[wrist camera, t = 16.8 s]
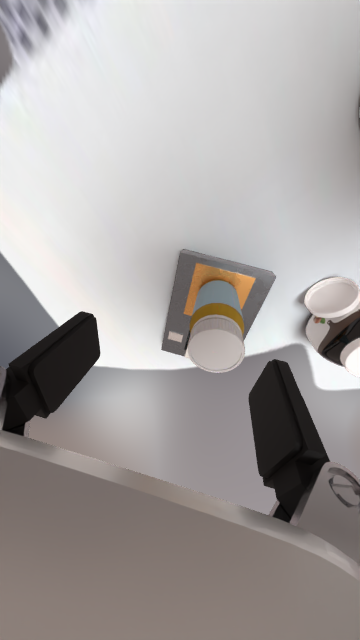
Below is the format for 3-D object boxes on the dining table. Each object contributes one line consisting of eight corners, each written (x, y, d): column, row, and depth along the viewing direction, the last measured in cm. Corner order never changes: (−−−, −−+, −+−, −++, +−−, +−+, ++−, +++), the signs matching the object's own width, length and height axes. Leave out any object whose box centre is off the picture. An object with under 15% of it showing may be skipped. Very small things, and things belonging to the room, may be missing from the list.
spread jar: (329, 343, 36) (369, 392, 27) (277, 322, 36) (299, 364, 26) (384, 292, 30) (464, 332, 20) (322, 266, 30) (373, 294, 20)
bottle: (190, 301, 34) (172, 355, 21) (212, 270, 30) (207, 313, 17) (220, 320, 35) (221, 383, 22) (246, 292, 31) (264, 349, 18)
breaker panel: (271, 271, 32) (277, 278, 28) (228, 359, 43) (229, 371, 40) (183, 248, 32) (179, 253, 29) (164, 341, 44) (160, 352, 41)
